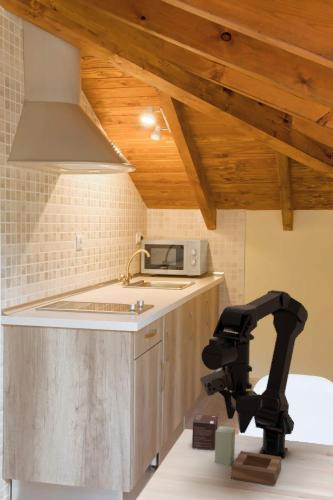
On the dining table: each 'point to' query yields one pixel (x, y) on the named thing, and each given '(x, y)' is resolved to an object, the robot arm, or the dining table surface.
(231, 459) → the peg
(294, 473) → the dining table surface
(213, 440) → the box
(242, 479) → the socket block
